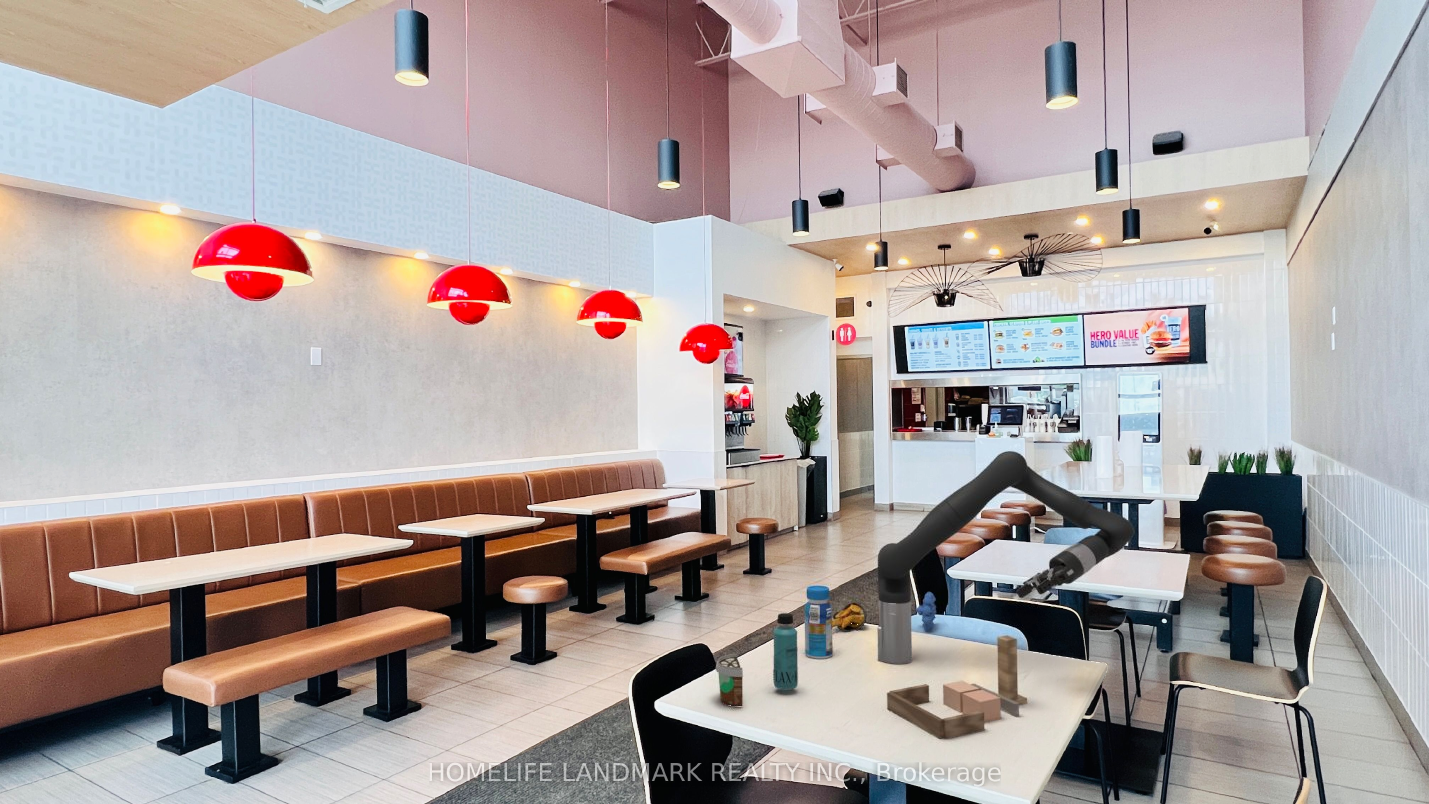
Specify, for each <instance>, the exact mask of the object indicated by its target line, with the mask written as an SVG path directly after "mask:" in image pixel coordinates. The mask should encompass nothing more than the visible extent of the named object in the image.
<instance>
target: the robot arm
mask: <svg viewBox="0 0 1429 804" xmlns="http://www.w3.org/2000/svg"><path fill="white" fill-rule="evenodd" d="M1009 487H1011V488H1012V489H1016V490H1018V491H1019V492H1020V491H1021V492H1022V493H1025V494H1027V495H1028V496H1030V497H1032V498H1034V499H1035V500H1037V501H1039V502H1040V503H1041V504H1043V505H1044V506H1046V507H1047V508H1049V509H1051V510H1052V511H1053V512H1054V513H1057V514H1058V515H1060V516H1061V517H1062V518H1064V519H1066V520H1067V521H1069V522H1070V523H1072V524H1074V525H1076V526H1077V527H1078V528H1080V529H1082V530H1087V529H1090V528H1092V527H1093V528H1096V529H1099V530H1098V531H1097V532H1096V533H1095V534H1092V535H1091V534H1090V535H1088V536H1085V537H1084V538H1083V539H1081V540H1079V541H1078V542H1076V543H1075V544H1072V545H1070V546H1068V547H1066V548H1065V549H1064V550H1062V551H1061V552H1059V553H1058V554H1056V555H1055V556H1053V557H1052V558H1050V560H1049V561H1048V568H1046V569H1044V570H1042V572H1037V573H1036V574H1035V575H1033V576H1031V577H1030V578H1029V579H1027V580H1026V581H1024V582H1022V584H1023V585H1022V586H1021V587H1019V588H1018V589H1016V592H1015V593H1016V594H1017V596H1018V597H1019V598H1020V599H1022V598H1024V597H1026V596H1028V595H1029V594H1030V593H1031V592H1032V593H1033V592H1034V591H1037V593H1038V594H1039V595H1044V594H1045V593H1046V592H1048V591H1050V590H1051V589H1054V588H1056V587H1061V586H1063V584H1066V585H1069V584H1072V583H1074V582H1075V581H1076V580H1078V579H1080V578H1081V577H1082V576H1084V575H1086V574H1087V573H1088V572H1089V571H1091V570H1092V569H1093V568H1094V567H1095V566H1096V565H1098V564H1099V563H1101V562H1103V560H1105V559H1106V558H1109V557H1111V556H1113V555H1115V554H1117V553H1118V552H1119V551H1121V550H1123V548H1124V547H1125V546H1126V545H1127V544H1128V543H1129V542H1130V541H1131V540H1132V538H1133V537H1134V536H1135V528H1134V526H1133V524H1132V523H1131V521H1129V520H1128V519H1127V518H1126V517H1125V516H1122V515H1120V514H1117V513H1114V512H1112V511H1110V510H1107V509H1103V508H1100V507H1097V506H1095V505H1094V504H1093V503H1090V502H1089V501H1087V500H1085V499H1084V498H1082V497H1080V496H1079V495H1077V494H1075V493H1073V492H1071V491H1069V490H1068V489H1066V488H1064V487H1061V486H1059V485H1057V484H1055V483H1053V482H1052V481H1050V480H1049V479H1046V478H1044V477H1043V476H1042V475H1039V473H1037V472H1036V471H1035V470H1034V469H1032V468H1031V467H1030V466H1029V465H1028V462H1027V460H1026V459H1025V457H1024V456H1023V455H1022V454H1021V453H1019V452H1017V451H1013V450H1009V451H1003V452H1001V453H1000V454H997V456H996V457H995V458H993V460H992V461H991V462H990V463H989V464H988V465H987V466H986V467H985V468H984V469H983V470H982V471H981V472H980V473H979V474H978V475H977V476H976V477H974V478H973V479H972V480H970V481H968V482H967V483H966V484H964V485H962V486H961V487H959V488H958V489H957V490H956V491H954V492H953V493H951V494H950V495H948V496H946V498H945V499H943V500H941V502H939V503H937V505H936V506H935V507H934V508H932V510H930V511H929V512H928V513H927V514H926V515H925V517H924V518H923V519H922V520H921V521H920V522H919V524H918V525H917V526H916V527H915V529H914V530H913V531H912V532H910V533H909V534H908V535H907V536H906V537H903V538H902V539H901V540H899V541H898V542H893V543H892V542H890V543H887V544H885V545H883V546H882V547H881V548H880V550H879V551H878V554H877V593H878V594H877V595H878V626H877V661H880V662H884V663H888V664H893V665H894V664H895V665H901V664H902V665H903V664H904V665H905V664H908V663H911V662H912V660H913V657H912V656H913V652H912V651H913V648H912V646H913V644H912V643H913V642H912V593H911V592H912V589H911V571H912V569H913V568H914V567H915V566H916V565H918V563H920V562H921V560H923V558H925V557H926V556H927V555H928V554H929V553H930V552H932V551H933V550H935V549H936V548H937V547H939V546H941V545H942V544H943V543H945V542H946V541H947V540H949V539H951V538H952V537H953V536H955V534H957V533H958V532H960V531H961V530H962V529H963V528H964V527H966V526H967V525H968V524H970V522H972V520H974V519H975V518H976V517H977V516H978V515H979V514H980V513H981V511H982V510H983V509H984V508H985V507H986V506H987V505H988V503H990V501H992V500H993V499H994V498H995V497H997V496H998V495H999V494H1000V493H1002V492H1003V491H1005V490H1006V489H1008V488H1009Z"/></svg>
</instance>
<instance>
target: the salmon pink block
mask: <svg viewBox="0 0 1429 804" xmlns="http://www.w3.org/2000/svg"><path fill="white" fill-rule="evenodd" d="M976 711H983V712H984V723H987V722H991V721H996V720H1000V718H1001V712H1002V710H1000V697H997V696H995V695H993V694H991V693H988V692H986V691H984V690H978V691H973V692H968V693H963V712H962V714H967V713H971V712H976Z"/></svg>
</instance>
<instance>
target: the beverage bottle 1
mask: <svg viewBox="0 0 1429 804" xmlns="http://www.w3.org/2000/svg"><path fill="white" fill-rule="evenodd" d="M777 624H779V626H777V627H775V629H774V630H773V656H772V658H773V660H772V661H773V669H772V672H773V677H772V678H773V679H772V681H773V685H774V688H776V689H779V690H788V691H789V690H793V689H796V688H797V687H798V685H799V666H798V650H799V648H798V630H797V629H796V628H795V627H794V626H792V624H794V617H793V614H792V613H789V612H788V613H787V612H785V613H784V612H783V613H782V612H781V613H778V615H777Z"/></svg>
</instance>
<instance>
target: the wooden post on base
mask: <svg viewBox="0 0 1429 804" xmlns="http://www.w3.org/2000/svg"><path fill="white" fill-rule="evenodd" d="M996 639H997V640H996V641H997V646H996V647H997V692H998V693H996V692H994V691H992V690H990V689H987V688H986V687H983V686H981V685H978V684H976V683H970V684H971V685H973V686H975V687H977V688H979V690H984V691H986V692H988V693H991V694H993V695H995V696H997V697H1000V711H1001V712H1004V713H1006V714H1008V715H1010V716H1012V717H1014V718H1016V717H1020V706H1021V705H1024V704H1025V705H1026V704H1028V698H1027V697H1026V696H1022V695H1021V694H1019V693H1018V692H1019V689H1018V681H1019V680H1018V639H1017V638H1016V637H1013V636H1010V635H1002V636H997V638H996Z"/></svg>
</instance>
